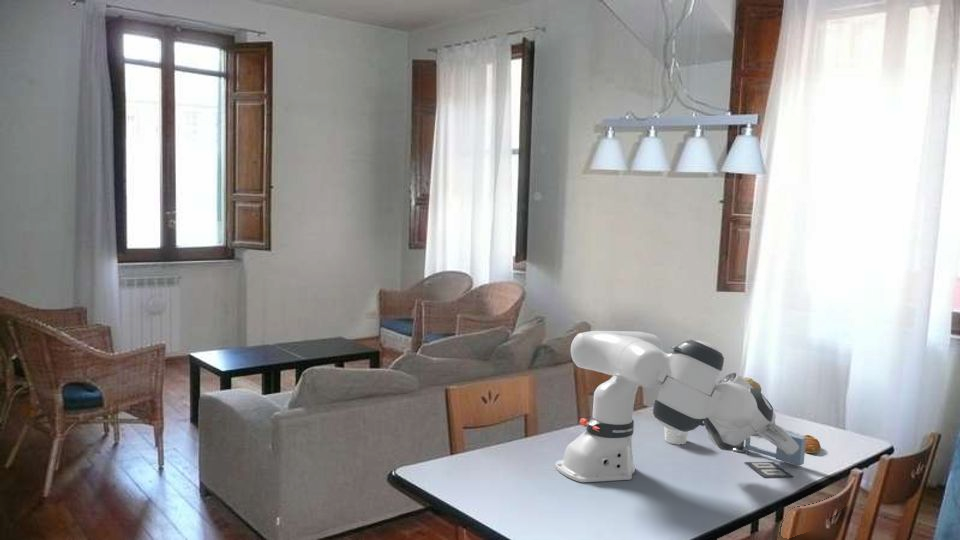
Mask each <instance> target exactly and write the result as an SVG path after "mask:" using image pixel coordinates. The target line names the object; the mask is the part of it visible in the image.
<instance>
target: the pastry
mask: <svg viewBox="0 0 960 540" xmlns="http://www.w3.org/2000/svg"><path fill="white" fill-rule="evenodd" d="M803 436H804V437H806V445H805V454H815V455H817V454H818V453H819V452H820V450H821V443H820V441H819V440H818V438H815V437H814V436H812V435H810V434H805V435H803Z"/></svg>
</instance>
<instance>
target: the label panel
mask: <svg viewBox="0 0 960 540" xmlns="http://www.w3.org/2000/svg"><path fill="white" fill-rule="evenodd" d="M743 463H744V465H748V466H747V467H748V468H750V469H751V470H753V471H754V472H756V473H757V474H758V475H760V477H762V478H764V479H765V478H770V479H771V478H773V479H774V478H777V479H778V478H794V475H792V474H791V472H788V471H787V470H785V469H784V468H783V467H782V466H780V465H778V463H775V462H774V461H744V462H743Z"/></svg>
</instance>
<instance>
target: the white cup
mask: <svg viewBox="0 0 960 540" xmlns="http://www.w3.org/2000/svg"><path fill="white" fill-rule="evenodd" d="M663 426H664V425H663ZM663 428H664V441H665V442H666V443H668V444H672V445H679V446H680V444H682V445H685V444H686V443H687V439H688V434H689V431H687V432H683V431H674V430H671V429H669V428H667V427H665V426H664V427H663Z"/></svg>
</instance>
